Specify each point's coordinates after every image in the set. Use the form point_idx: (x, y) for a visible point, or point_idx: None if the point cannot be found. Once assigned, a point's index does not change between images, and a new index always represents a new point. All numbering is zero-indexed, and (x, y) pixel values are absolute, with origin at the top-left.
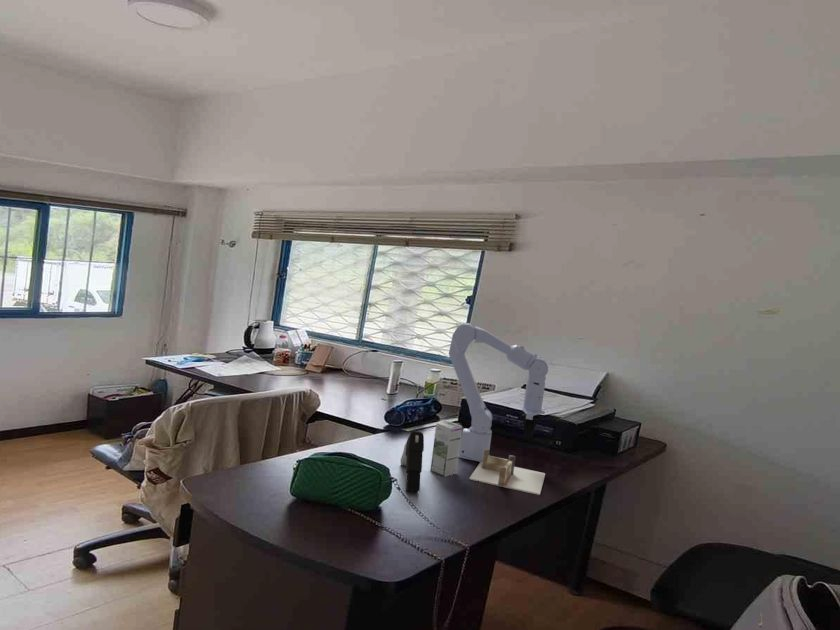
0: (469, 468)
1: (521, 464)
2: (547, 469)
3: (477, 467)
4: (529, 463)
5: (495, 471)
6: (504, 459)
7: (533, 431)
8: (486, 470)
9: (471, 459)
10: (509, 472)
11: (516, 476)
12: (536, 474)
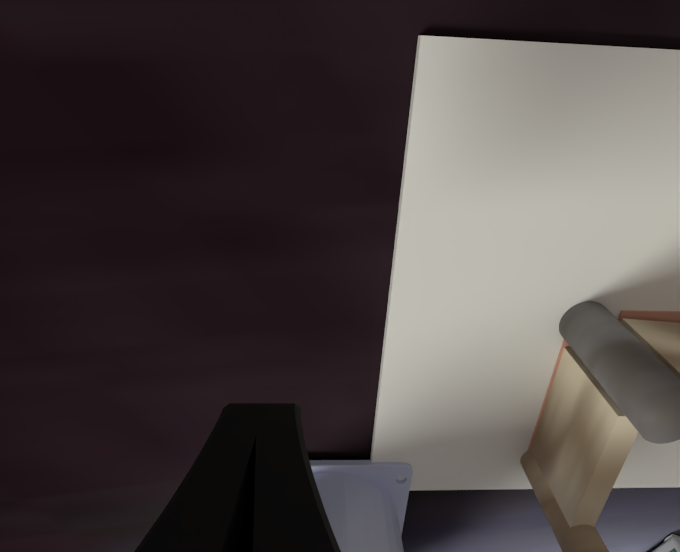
0: None
1: (246, 265)
2: (215, 12)
3: None
4: (156, 204)
5: None
6: (630, 436)
7: (316, 505)
8: None
9: (401, 529)
10: None
11: (631, 275)
12: (506, 125)
